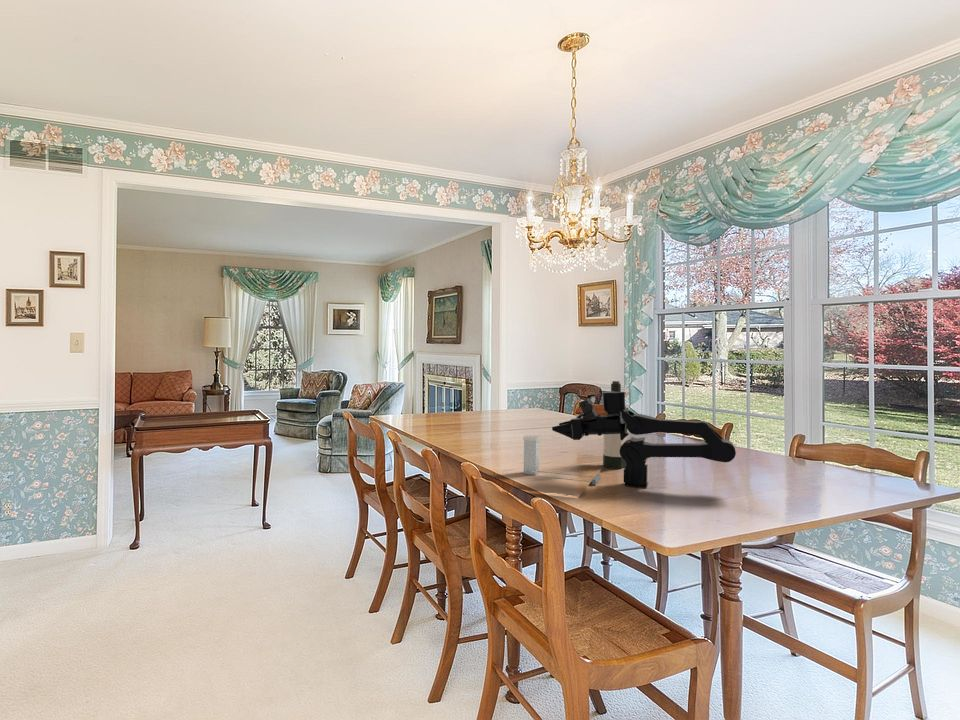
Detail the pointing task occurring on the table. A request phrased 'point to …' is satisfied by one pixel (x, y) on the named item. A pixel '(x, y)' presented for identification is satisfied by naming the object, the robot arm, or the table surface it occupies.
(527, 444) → the post
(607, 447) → the wine bottle
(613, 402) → the robot arm
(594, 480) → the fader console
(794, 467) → the table surface
